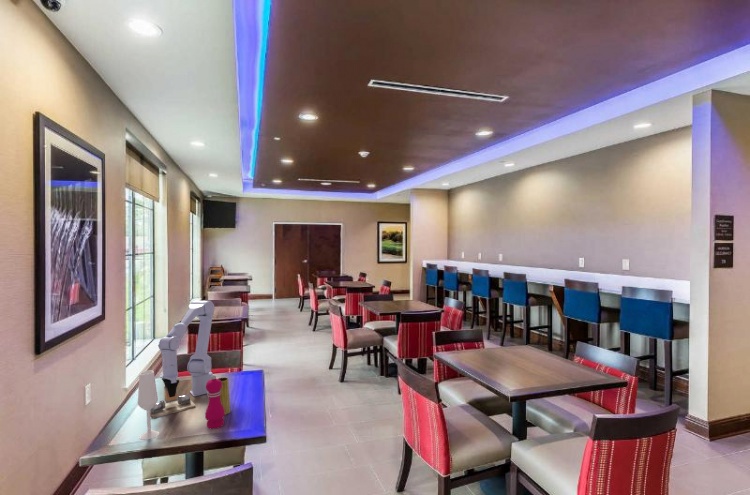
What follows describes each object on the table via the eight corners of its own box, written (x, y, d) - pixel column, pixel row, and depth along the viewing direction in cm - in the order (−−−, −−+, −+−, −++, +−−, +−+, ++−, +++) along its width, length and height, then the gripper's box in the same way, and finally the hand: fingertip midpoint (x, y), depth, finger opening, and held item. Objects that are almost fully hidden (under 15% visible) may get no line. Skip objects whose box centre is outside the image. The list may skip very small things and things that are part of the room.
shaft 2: (188, 402, 187) (188, 392, 187) (190, 405, 184) (190, 394, 184) (177, 405, 184) (177, 394, 184) (179, 408, 181) (178, 397, 181)
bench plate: (189, 399, 190) (189, 397, 190) (195, 407, 182) (195, 405, 181) (147, 409, 180) (147, 407, 180) (152, 418, 171) (152, 416, 171)
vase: (216, 417, 171) (214, 382, 170) (214, 411, 176) (213, 378, 176) (231, 413, 174) (230, 380, 173) (229, 408, 179) (228, 376, 179)
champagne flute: (163, 431, 159) (160, 370, 158) (150, 440, 152) (147, 375, 152) (148, 430, 160) (145, 369, 160) (134, 438, 154) (132, 375, 153)
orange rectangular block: (174, 397, 183) (174, 384, 183) (177, 400, 180) (176, 386, 180) (164, 400, 181) (164, 386, 181) (166, 403, 178) (166, 389, 177)
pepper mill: (213, 431, 158) (211, 379, 158) (201, 426, 162) (199, 376, 162) (229, 423, 165) (227, 373, 164) (217, 419, 168) (215, 371, 168)
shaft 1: (161, 410, 179) (161, 399, 179) (165, 412, 177) (165, 401, 177) (150, 414, 175) (149, 403, 175) (154, 416, 173) (153, 405, 173)
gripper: (156, 362, 183) (157, 392, 184) (163, 370, 172) (164, 402, 172) (173, 359, 188) (174, 388, 188) (181, 366, 176) (182, 398, 177)
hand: (171, 395), depth 181 cm, fingers closed on orange rectangular block, 4 cm apart
